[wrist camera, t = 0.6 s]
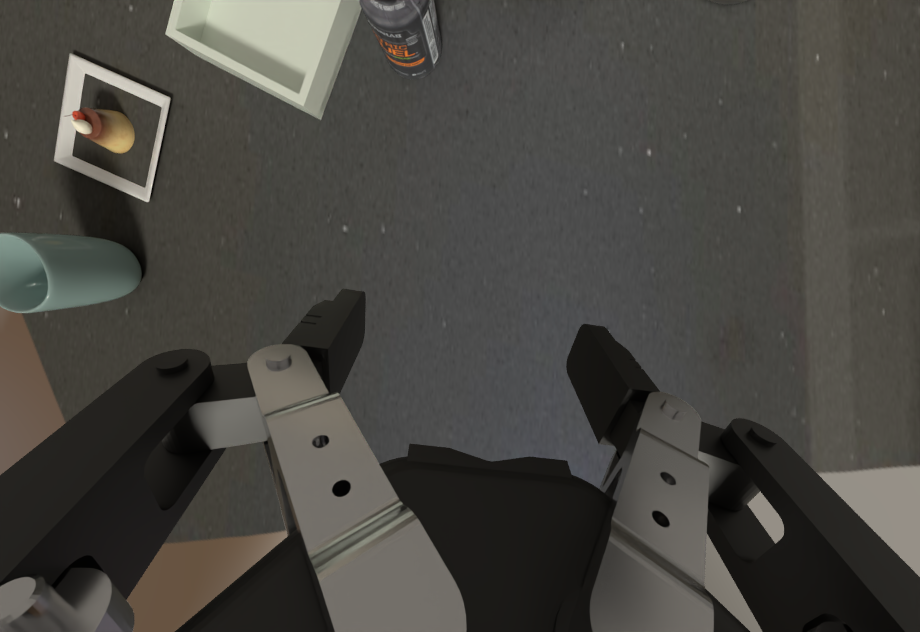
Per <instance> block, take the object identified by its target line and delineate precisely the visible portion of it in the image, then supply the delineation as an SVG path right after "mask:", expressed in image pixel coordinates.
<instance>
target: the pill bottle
mask: <svg viewBox="0 0 920 632" xmlns="http://www.w3.org/2000/svg"><path fill="white" fill-rule="evenodd" d="M359 3H360V6H361V8H362V10H363V12H364V14H365V16H366V18H367V20H368V22H369V24H370V26H371V28H372V30H373V32H374V34H375V36H376V38H377V40H378V42H379V44H380V46H381V48H382V51H383V52H384V54H385V56H386V59H387V61H388V63H389V64H390V66H391V68H392V69H393V70H394V71H395V72H396V73H397V74H398V75H400V76H402V77H404V78H407V79H419V78H422V77H425V76H427V75H428V74H430V73H431V72H432V71H433V70H434V68H435V67H436V66H437V64H438V62H439V59H440V56H441V51H442V42H441V35H440V30H439V24H438V20H437V14H436V9H435V4H434V0H359Z"/></svg>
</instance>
